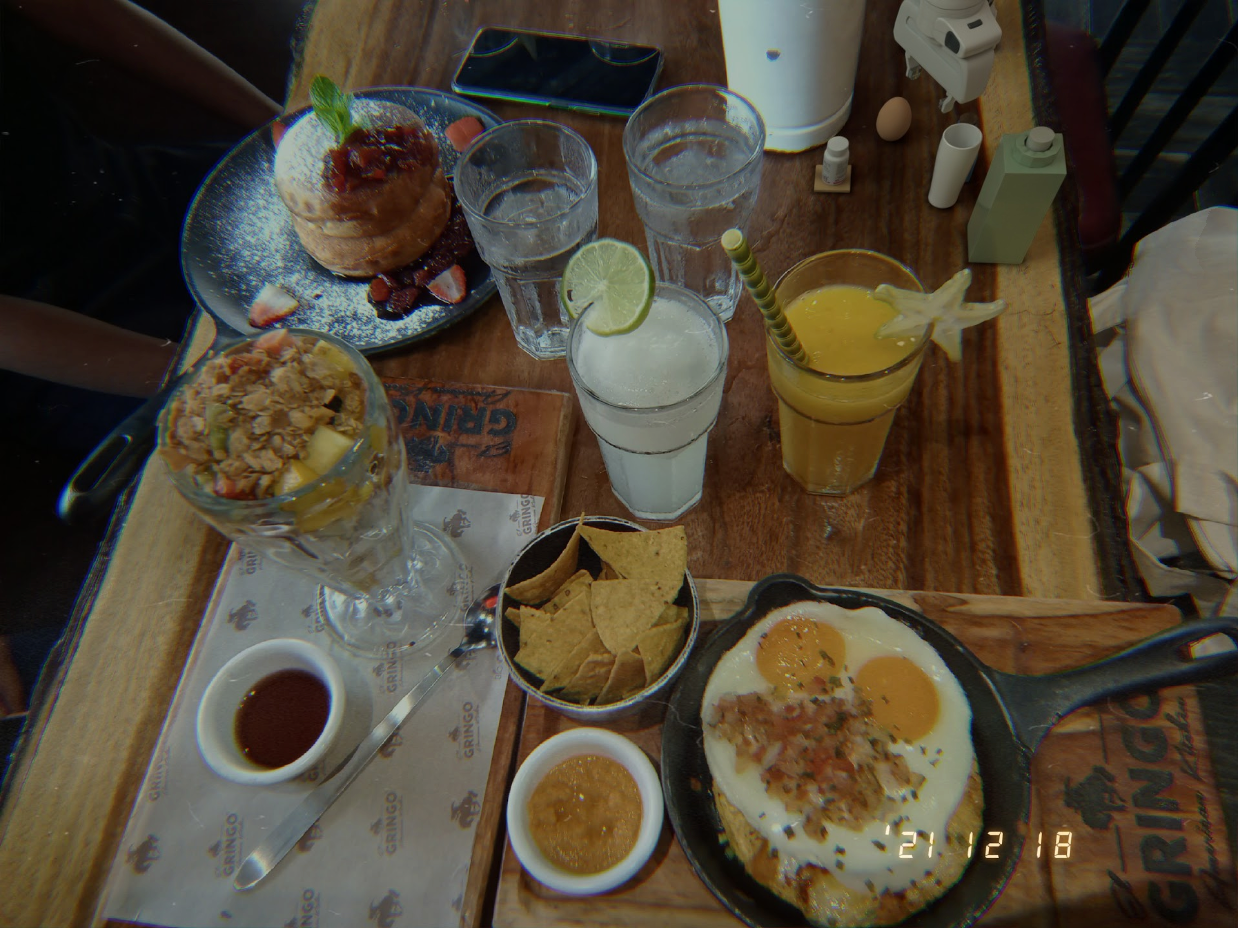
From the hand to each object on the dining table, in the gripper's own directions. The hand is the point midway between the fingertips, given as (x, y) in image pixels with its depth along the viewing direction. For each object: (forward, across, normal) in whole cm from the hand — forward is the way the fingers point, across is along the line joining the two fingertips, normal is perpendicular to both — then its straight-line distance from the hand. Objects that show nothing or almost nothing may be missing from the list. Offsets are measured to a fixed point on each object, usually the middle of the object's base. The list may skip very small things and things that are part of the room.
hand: (928, 93), depth 121 cm
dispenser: (+25, +16, +10) cm, 32 cm away
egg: (+25, -17, +9) cm, 32 cm away
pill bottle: (+25, -13, -7) cm, 29 cm away
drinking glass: (+26, +2, +8) cm, 27 cm away
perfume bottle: (+25, -3, +14) cm, 29 cm away
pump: (+3, +17, +10) cm, 19 cm away
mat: (+25, -13, -7) cm, 29 cm away
